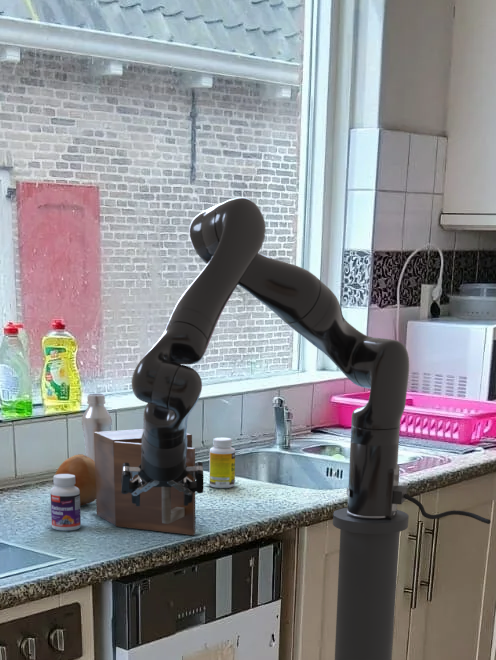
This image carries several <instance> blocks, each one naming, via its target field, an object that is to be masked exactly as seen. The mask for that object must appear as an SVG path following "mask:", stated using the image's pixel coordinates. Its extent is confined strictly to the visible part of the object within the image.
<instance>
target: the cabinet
mask: <svg viewBox="0 0 496 660" xmlns="http://www.w3.org/2000/svg"><path fill="white" fill-rule="evenodd" d="M142 434H143V428H135V429H120V430H119V429H118V430H111V431H103V432H94V451H95V481H96V500H95V510H96V516H97V517H100V518H102V519H103V520H105V521H107V522H109V523H110V524H111V525H114V526H116V508H115V471H114V442H116V441H119V442H131V443H142ZM187 447H188V448H193V434H191V433H189V432H187ZM116 527H117V526H116Z"/></svg>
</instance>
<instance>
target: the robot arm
mask: <svg viewBox="0 0 496 660" xmlns="http://www.w3.org/2000/svg"><path fill="white" fill-rule="evenodd" d="M265 221H266V220H265V218H264V215H263V213H262V211H261V209H260V207H259V206H258V205H257V204H256V203H255V202H254V201H252V200H251V199H250V198H247V197H235V198H231V199H228V200H226V201H223V202H221V203H218V204H216V205H214V206H212V207H209V208H207V209H205V210H203V211H202V212H200V213H198V214H197V215H195V217H194V218H193V219H192V221H191V223H190V225H189V230H188V231H189V232H188V234H189V239H190V242H191V243H190V244H191V245H192V248H193V250H194V252H195V253H196V254H197V256H198V257H199V258H200V259H201V260H202V262H203V263H205V264H206V265H205V266H204V268H203V269H202V270H201V272H200V273H199V274H198V276H196V278H195V279H194V280H193V282H192V283H191V284H190V285H189V286H188V287H187V289H186V290H185V291H184V292H183V293H182V295H181V297H180V298H179V299H178V301H177V303H176V305H175V307H174V309H173V311H172V313H171V316H170V318H169V320H168V323H167V324H166V327H165V329H164V332H163V333H162V335H161V336H160V338H159V339H158V340H157V342H155V344H154V345H153V346H152V348H151V349H150V350H148V352H147V353H145V355H144V356H143V357H142V358H141V360H140V361H138V363H137V365H136V366H135V368H134V371H133V374H132V377H131V389H132V392H133V395H134V396H135V397H136V398H137V400H139V401H141V402H142V403H143V402H144V403H146V405H145V407H144V411H143V428H142V429H143V434H142V446H141V464H140V465H139V467H130V464H129V463H123V466H122V476H121V486H122V489H121V492H122V494H127V493H128V492H129V493H131V494H132V503H133V504H136V506H140V493H142V492H143V491H144V492H147V491H148V490H149V489H151V488H152V487H153V486H154V487H172V486H173V487H174V488H176V489H177V490H178V491H180V492H181V491H183V492H184V495H183V497H184V506H188V503H191V502H192V496H193V493H194V492H195V493H198V494H203V493H204V490H205V489H204V464H203V462H201V461H197V462H195V466H192V467H187V465H186V454H187V449H188V448H187V433H188V431H187V430H188V420H189V416H190V415H191V413H192V411H193V410H194V408H195V406H196V405H197V403H198V401H199V399H200V396H201V393H202V391H203V381H202V378H201V375H200V374H199V372H198V371H197V370H196V369H194V368H192V366H191V367H190V365H195V364H198V363H199V362H200V361H201V360H202V359H203V358H204V356H205V354H206V352H207V349H208V347H209V344H210V341H211V339H212V336H213V334H214V332H215V329H216V327H217V324H218V323H219V320H220V318H221V316H222V313H223V311H224V309H225V307H226V306H227V304H228V302H229V301H230V298H231V297H232V295H233V294H234V291H235V289H236V288H237V287H238V286H239V287H240V288H242V289H243V290H244V291H246V292H248V293H249V294H250V295H251V296H252V297H254V298H255V299H257V300H258V301H259V302H260V303H261V304H262V305H264V306H265V307H267V308H268V309H269V310H270V311H271V312H273V313H274V314H275V315H276V316H277V317H278V318H280V319H281V320H282V322H284V323H285V324H286V325H288V326H289V327H290V328H291V329H292V330H293V331H295V332H296V333H298V334H300V336H302V337H303V338H304V339H305V340H307V341H308V342H309V343H310V344H312V346H314V347H315V348H316V349H318V350H320V351H321V352H322V353H323V354H324V355H326V357H327V358H329V360H331V362H332V363H333V364H334V365H335V366H336V367H337V368H338V369H339V370H340V371H341V372H342V374H343V375H344V376H345V377H346V378H347V379H348V380H349V381H350V382H351V383H352V384H355V385H356V386H357V387H360V388H364V389H370V391H369V397H368V401H367V403H366V404H364V405H363V406H361V407H358V408H355V409H354V410H353V411H352V413H351V424H350V425H351V428H350V445H349V447H350V448H349V450H350V451H349V468H348V469H349V470H348V486H347V487H346V493H345V494H346V496H347V503H346V504H347V505H346V506H347V507H348V509H347V515H348V516H351V517H354V518H358V519H366V520H383V519H387V520H391V519H392V518H393V517H394V516H395V515H396V514H397V510H398V505H403V503H404V502H405V501H406V500H407V501H409V502H411V503H413V504H414V505H416V506H417V507H418V509H419V511H420V514H421V515H422V516H423V517H424V518H426V519H427V520H428V519H429V520H437V519H438V520H439V519H442V518H445V517H448V516H453V515H454V516H456V515H457V516H464V517H469V518H472V519H474V520H477V521H478V522H481V523H484V524H487V525H490V524H491V519H489V518H486V517H483V516H481V515H479V514H476V513H473V512H470V511H465V510H448V511H444V512H441V513H438V514H431V513H428V512H426V510H425V508H424V504H423V503H421V501H419V500H418V499H416V498H414V497H413V496H411V495H409V494H408V486H405V485H399V484H400V483H399V482H400V469H401V468H400V465H399V464H398V461H399V447H400V446H399V445H400V430H401V427H400V426H401V419H402V417H403V414H404V412H405V408H406V403H407V393H408V384H409V374H410V357H409V353H408V350H407V348H406V345H404V344H403V343H402V342H401V341H398V340H396V339H391V338H381V337H373V336H369V335H367V334H364V333H363V332H361V331H359V330H358V329H356V328H355V327H354V326H353V325H352V324H351V323H349V322H348V321H347V320H346V318H345V317H344V316H343V311H342V307H341V303H340V301H339V299H338V297H337V295H336V294H335V293H334V292H333V291H332V290H331V289H330V288H329V287H328V286H327V285H326V284H325V283H324V282H323V281H321V279H319V278H318V277H317V275H315V274H314V273H312V272H311V271H309V270H307V269H306V268H303V267H301V266H298V265H296V264H293V263H290V262H286V261H284V260H279V259H275V258H272V257H269V256H266V255H264V254H262V253H260V250H261V249H262V246H263V245H264V242H265V239H266V222H265ZM188 365H189V366H188ZM188 474H190V475H191V476H192V477H194V480H195V481H193V482H192V480H190V479H189V478H188V477H187V475H188ZM135 475H138V477H137V478H136V479H134V480H133V481H132V482H130V480H132V478H133V477H134V476H135Z"/></svg>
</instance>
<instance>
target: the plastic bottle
mask: <svg viewBox="0 0 496 660" xmlns="http://www.w3.org/2000/svg"><path fill="white" fill-rule="evenodd" d="M86 399H87V401H86V404H87V405H88V406H87V408H86V409H85V411H84V413H83V415H82V417H81V426H82V433H83V439H84V452H85V454H84V455H85V456H87V457H89V458H91V459H92V460H94V461H95V451H94V432H103V431H112V427H113V419H112V415H111V414H110V413H109V411H108V409H107V407H105V405H106V397H105V394H104V393H100V392H99V393H96V392H95V393H93V392H92V393H87V397H86Z"/></svg>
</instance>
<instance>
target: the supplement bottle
mask: <svg viewBox="0 0 496 660" xmlns="http://www.w3.org/2000/svg"><path fill="white" fill-rule="evenodd" d="M232 442H233V439H232V438H230V437H215V438H214V437H213V441H212V447H211V448H210V449H209V471H208V472H209V485H210V487H212V488H215V489H228V488H229V489H230V488H233V487H234V486H235V484H236V449H235V448H234V447H232V446H233V443H232Z"/></svg>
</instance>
